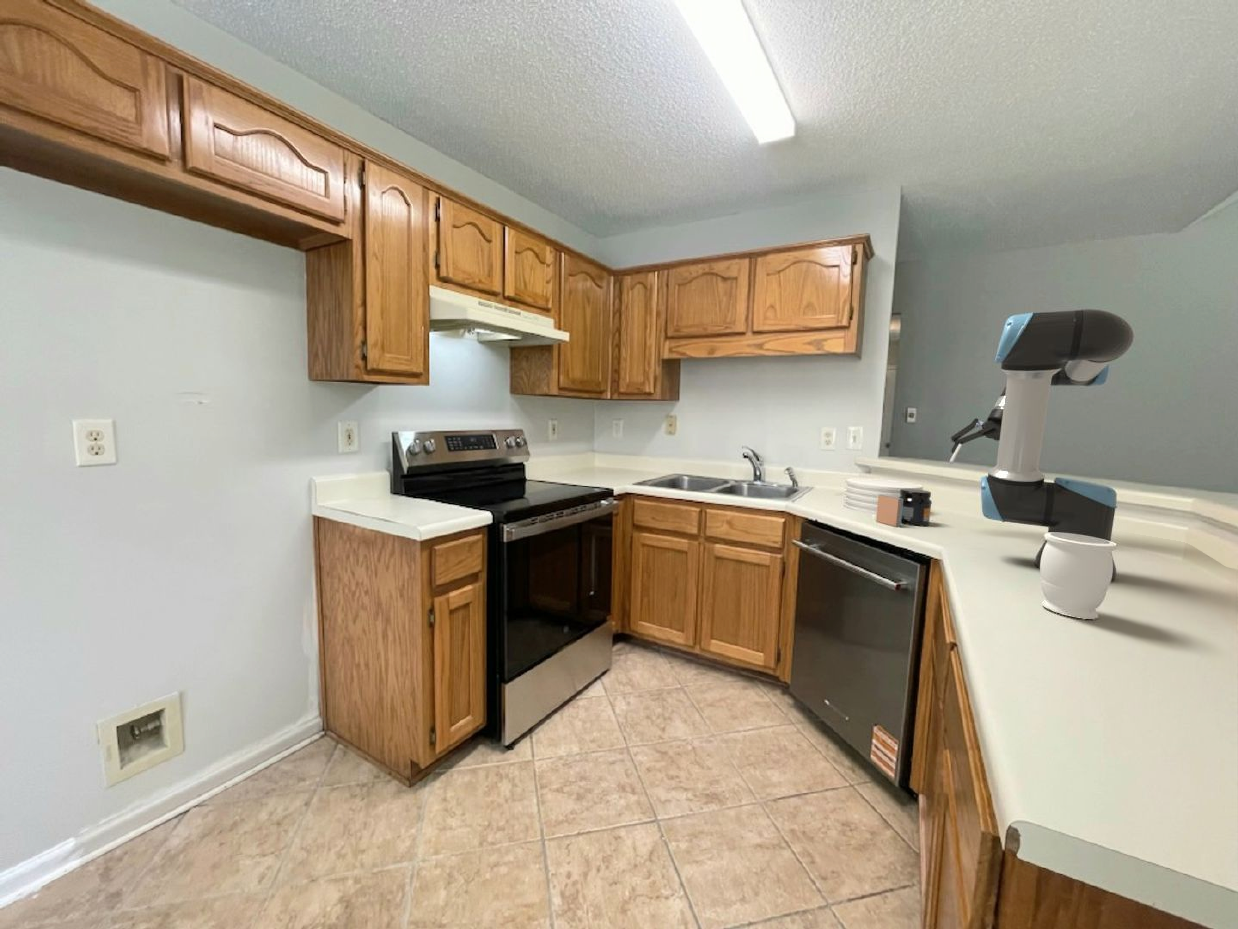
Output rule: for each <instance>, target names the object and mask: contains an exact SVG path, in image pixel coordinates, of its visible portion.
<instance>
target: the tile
mask: <svg viewBox="0 0 1238 929" xmlns="http://www.w3.org/2000/svg"><path fill="white" fill-rule="evenodd" d="M902 509H903V499H902V498H897V497H892V496H887V495H883V494H880V495H878V505H877V515H876V517H875V518H876V519H875V522H876V523H881V524H884V525H888V526H891V527H894V528H901V526H902V523H901V518H902Z"/></svg>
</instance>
